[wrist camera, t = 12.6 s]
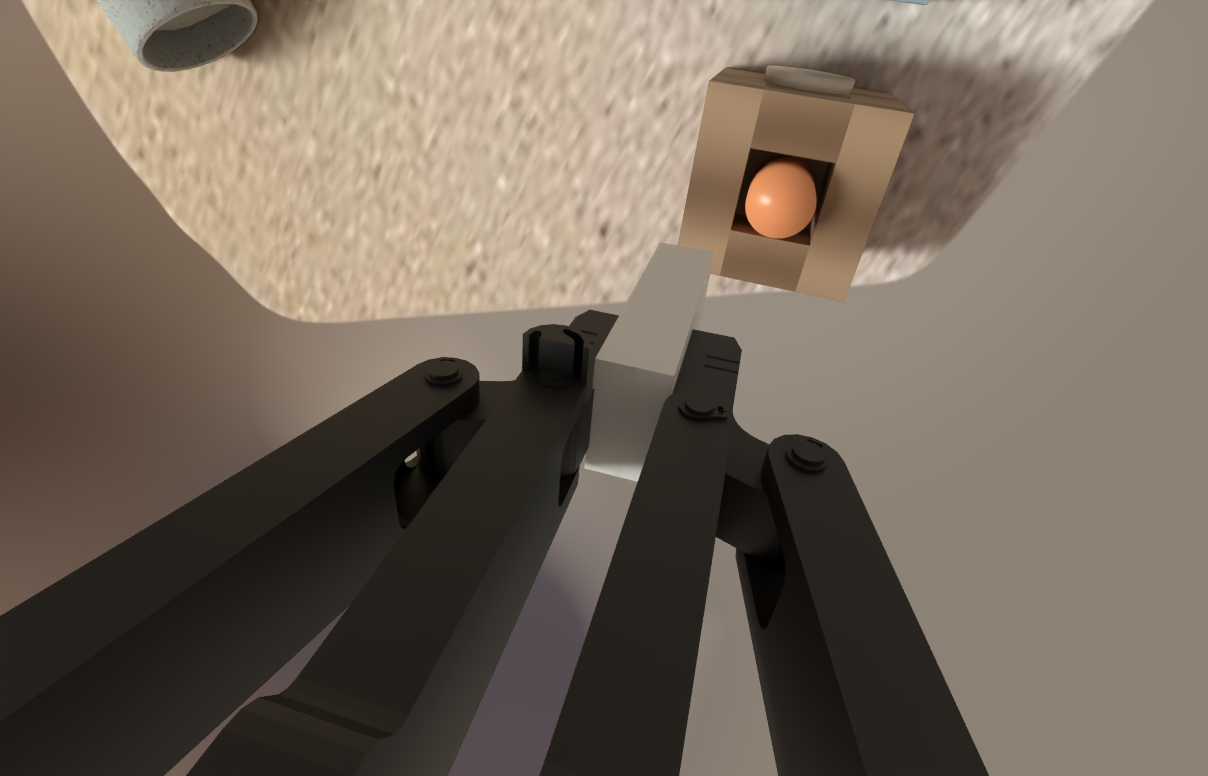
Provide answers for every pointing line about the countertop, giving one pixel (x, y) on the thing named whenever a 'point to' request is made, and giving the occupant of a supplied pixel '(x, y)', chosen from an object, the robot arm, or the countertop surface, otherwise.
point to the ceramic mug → (181, 29)
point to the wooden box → (812, 134)
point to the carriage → (914, 1)
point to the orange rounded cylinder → (781, 197)
